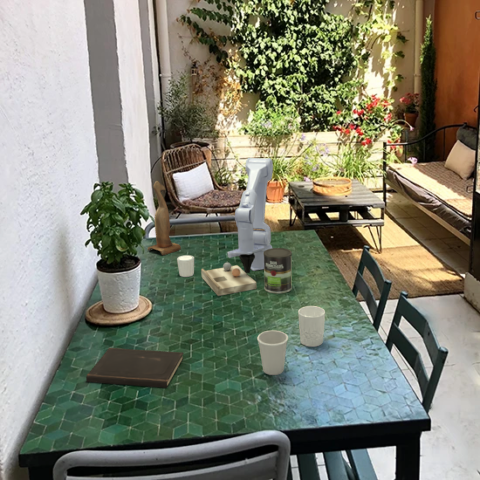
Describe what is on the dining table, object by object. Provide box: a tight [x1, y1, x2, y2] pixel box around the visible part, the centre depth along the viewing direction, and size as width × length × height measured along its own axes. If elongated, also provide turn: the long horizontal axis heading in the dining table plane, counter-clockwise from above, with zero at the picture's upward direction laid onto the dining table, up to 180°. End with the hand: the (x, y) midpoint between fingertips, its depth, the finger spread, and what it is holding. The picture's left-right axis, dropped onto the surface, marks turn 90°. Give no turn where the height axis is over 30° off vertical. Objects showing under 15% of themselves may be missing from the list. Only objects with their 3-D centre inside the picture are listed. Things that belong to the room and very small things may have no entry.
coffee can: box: [263, 247, 293, 294], centre depth 214 cm, size 10×10×14 cm
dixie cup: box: [256, 330, 289, 376], centre depth 160 cm, size 8×8×10 cm
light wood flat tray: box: [200, 264, 257, 297], centre depth 222 cm, size 15×20×4 cm
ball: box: [232, 268, 240, 277], centre depth 222 cm, size 3×3×3 cm
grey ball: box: [222, 262, 232, 271], centre depth 228 cm, size 3×3×3 cm
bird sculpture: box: [147, 180, 182, 256], centre depth 258 cm, size 11×12×32 cm
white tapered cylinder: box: [176, 254, 195, 278], centre depth 232 cm, size 7×7×7 cm
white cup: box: [297, 305, 326, 348], centre depth 174 cm, size 8×8×10 cm
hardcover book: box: [85, 347, 184, 389], centre depth 164 cm, size 16×23×2 cm
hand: (247, 272), depth 223 cm, fingers closed
